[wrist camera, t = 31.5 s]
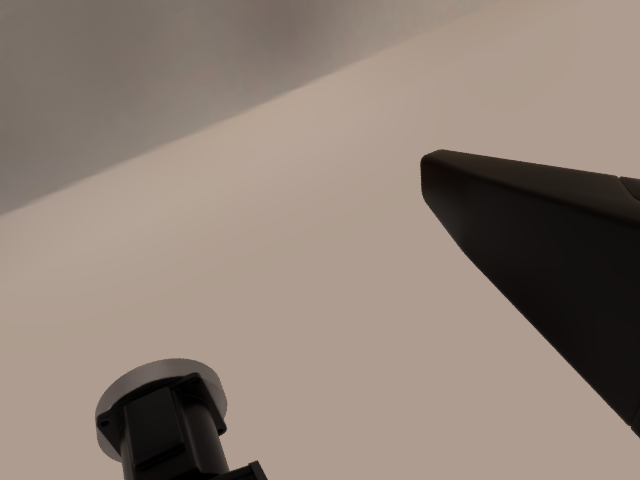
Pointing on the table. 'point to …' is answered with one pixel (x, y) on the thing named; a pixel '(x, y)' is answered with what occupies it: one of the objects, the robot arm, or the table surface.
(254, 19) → the table surface
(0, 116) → the table surface
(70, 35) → the table surface
